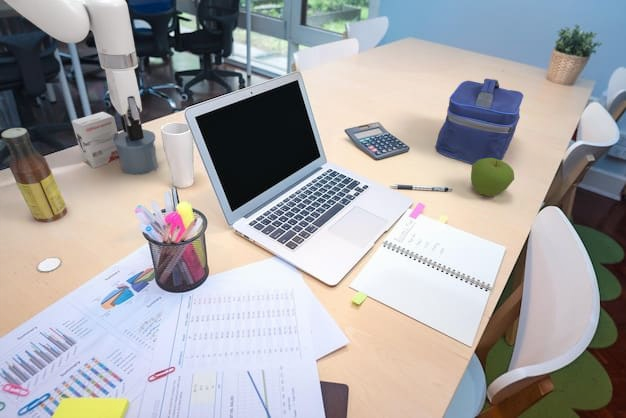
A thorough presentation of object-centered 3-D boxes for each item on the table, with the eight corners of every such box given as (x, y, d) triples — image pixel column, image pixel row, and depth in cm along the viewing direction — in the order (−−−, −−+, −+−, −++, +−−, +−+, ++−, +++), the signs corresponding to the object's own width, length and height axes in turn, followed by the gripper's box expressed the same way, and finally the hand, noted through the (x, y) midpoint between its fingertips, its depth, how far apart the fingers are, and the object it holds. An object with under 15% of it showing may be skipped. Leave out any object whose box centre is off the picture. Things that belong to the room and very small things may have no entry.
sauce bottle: (62, 203, 87) (32, 120, 75) (72, 217, 84) (42, 132, 72) (28, 214, 83) (-9, 129, 71) (38, 229, 80) (0, 142, 68)
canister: (127, 179, 97) (120, 151, 92) (117, 163, 102) (111, 135, 98) (162, 171, 101) (158, 143, 96) (152, 156, 107) (147, 129, 102)
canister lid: (120, 154, 92) (113, 125, 88) (110, 137, 98) (103, 109, 94) (161, 146, 97) (156, 118, 92) (149, 130, 103) (144, 103, 98)
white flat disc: (50, 257, 74) (49, 254, 74) (67, 262, 73) (66, 260, 73) (32, 271, 71) (31, 268, 70) (50, 277, 70) (49, 274, 70)
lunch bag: (449, 121, 146) (467, 65, 134) (508, 136, 139) (532, 79, 127) (430, 153, 123) (449, 90, 111) (499, 174, 116) (527, 109, 104)
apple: (464, 198, 104) (477, 166, 98) (463, 178, 112) (474, 148, 106) (506, 207, 102) (522, 175, 96) (502, 187, 110) (516, 156, 105)
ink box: (113, 150, 107) (103, 110, 100) (124, 157, 105) (114, 116, 98) (82, 162, 101) (69, 119, 94) (93, 169, 99) (80, 126, 92)
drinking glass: (163, 182, 97) (154, 126, 89) (187, 173, 102) (181, 119, 93) (178, 193, 94) (170, 137, 85) (202, 184, 98) (197, 129, 89)
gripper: (91, 50, 89) (109, 124, 100) (109, 73, 78) (127, 153, 89) (125, 47, 93) (139, 119, 103) (147, 69, 82) (160, 146, 93)
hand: (133, 134), depth 96 cm, fingers open, 4 cm apart
